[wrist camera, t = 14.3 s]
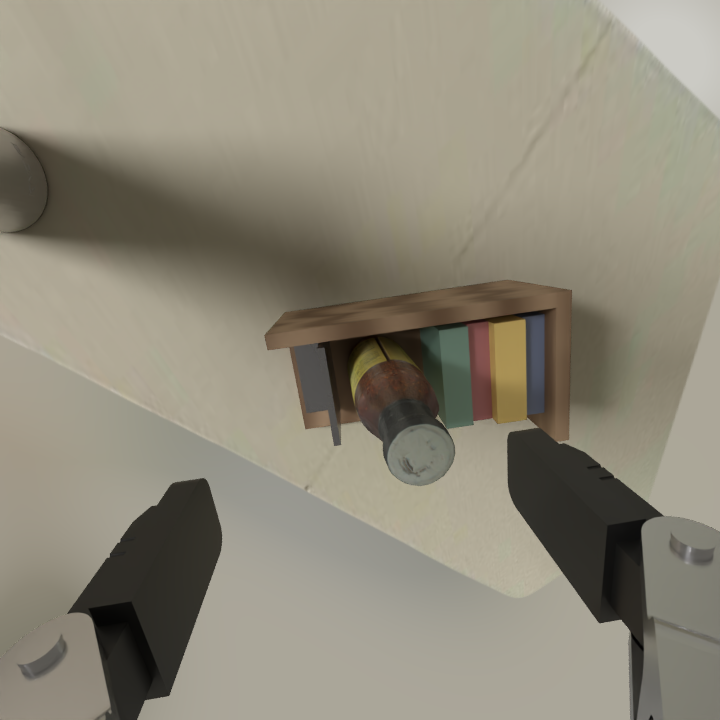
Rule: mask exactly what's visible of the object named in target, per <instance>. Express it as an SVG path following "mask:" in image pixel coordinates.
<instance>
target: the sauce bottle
mask: <svg viewBox="0 0 720 720" xmlns="http://www.w3.org/2000/svg"><path fill="white" fill-rule="evenodd" d="M347 371H348V376H349V381H350V385H351V389H352V395H353V399H354V404H355V408H356V411H357V414H358V416H359V418H360V420H361V422H362V423H363V425H364V426H365V427H366V428H367V430H369V431H370V432H371V433H372V434H373V435H375V436H376V437H377V438H379V439H380V440H381V441H383V455H384V458H385V461H386V463H387V465H388V468H389V470H390V472H391V473H392V474H393V475H394V476H395V477H396V478H398V479H399V480H400V481H402V482H404V483H407V484H410V485H417V486H422V485H428V484H431V483H433V482H435V481H437V480H438V479H440V478H441V477H443V476H444V475H445V473H446V472H447V471H448V470H449V468H450V467H451V465H452V463H453V460H454V456H455V446H454V443H453V440H452V438H451V436H450V434H449V433H448V431H447V429H446V428H445V427H444V425H443V424H442V423H441V422H439V421H438V420H437V419H435V418H436V416H437V414H438V412H439V404H438V401H437V398H436V395H435V392H434V389H433V388H432V386H431V384H430V383H429V382H428V381H427V379H426V377H425V376H424V374H423V373H422V372H421V370H420V369H419V368H418V367H417V366H416V364H415V363H414V362H413V361H412V360H411V358H410V357H409V356H408V355H407V354H406V353H405V351H404V350H403V349H402V348H401V347H400V346H399V345H398V344H397V343H396V342H394V341H393V340H391V339H388V338H386V337H381V336H369V337H366V338H364V339H362V340H361V341H360V342H358V343H357V344H356V345H355V346H354V347H353V348H352V349H351V353H350V356H349V359H348V366H347Z"/></svg>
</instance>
